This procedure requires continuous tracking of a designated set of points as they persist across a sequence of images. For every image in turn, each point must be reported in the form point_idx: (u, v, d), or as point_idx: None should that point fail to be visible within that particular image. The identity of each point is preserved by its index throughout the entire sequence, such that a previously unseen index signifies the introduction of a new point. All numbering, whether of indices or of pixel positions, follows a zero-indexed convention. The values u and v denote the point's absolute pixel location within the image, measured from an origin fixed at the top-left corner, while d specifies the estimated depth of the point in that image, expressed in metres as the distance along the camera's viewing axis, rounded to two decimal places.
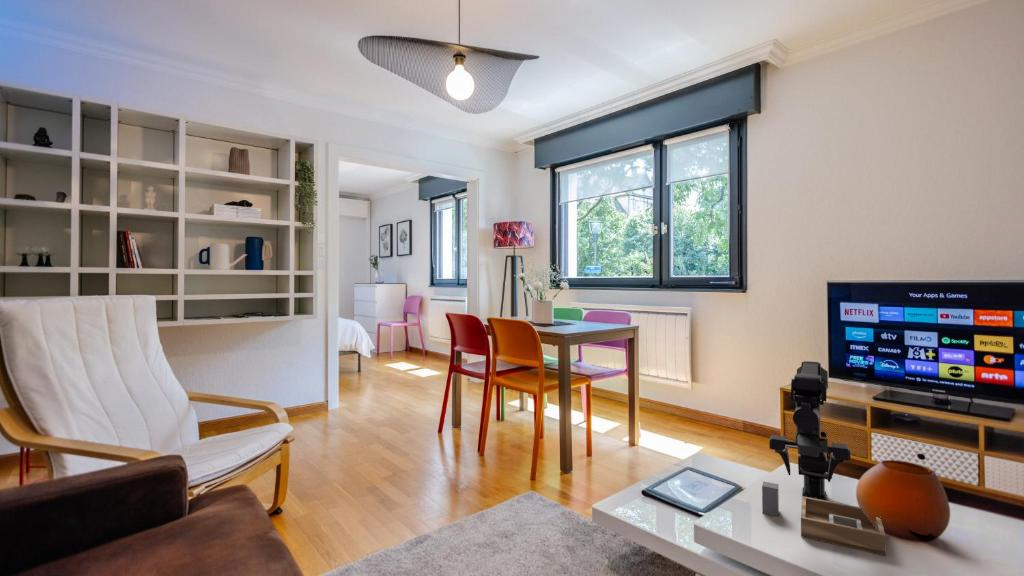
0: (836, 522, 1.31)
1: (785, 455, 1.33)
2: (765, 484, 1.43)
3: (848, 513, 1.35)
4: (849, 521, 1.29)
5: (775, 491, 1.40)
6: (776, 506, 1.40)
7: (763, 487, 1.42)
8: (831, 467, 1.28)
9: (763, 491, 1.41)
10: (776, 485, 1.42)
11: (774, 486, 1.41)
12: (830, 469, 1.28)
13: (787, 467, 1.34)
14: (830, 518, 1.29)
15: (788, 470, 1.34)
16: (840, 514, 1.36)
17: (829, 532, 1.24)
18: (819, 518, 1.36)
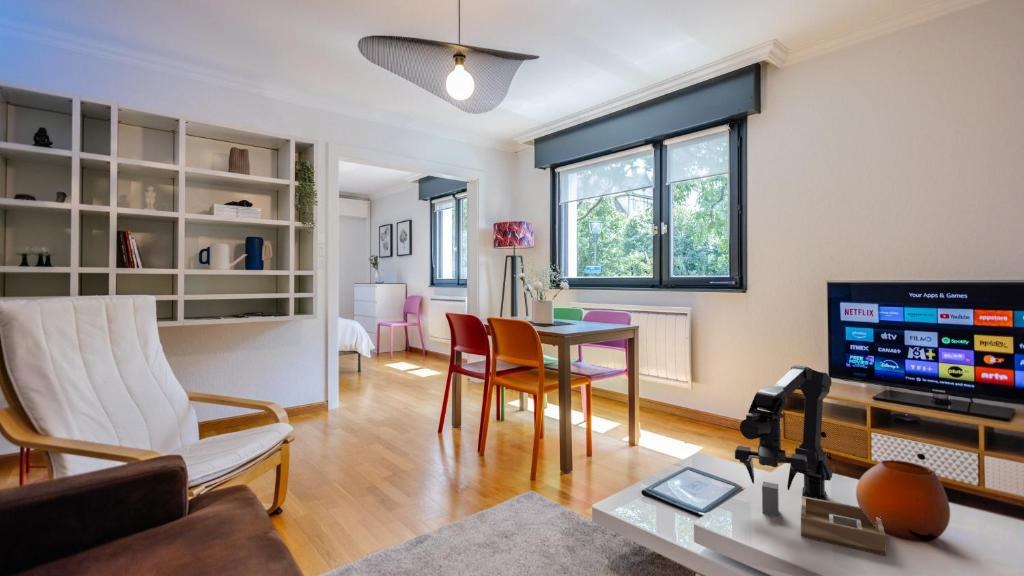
0: (836, 522, 1.31)
1: (749, 465, 1.44)
2: (765, 484, 1.43)
3: (848, 513, 1.35)
4: (849, 521, 1.29)
5: (775, 491, 1.40)
6: (776, 506, 1.40)
7: (763, 487, 1.42)
8: (790, 476, 1.39)
9: (763, 491, 1.42)
10: (776, 485, 1.42)
11: (774, 486, 1.41)
12: (789, 478, 1.39)
13: (751, 476, 1.44)
14: (830, 518, 1.29)
15: (752, 479, 1.44)
16: (840, 514, 1.36)
17: (829, 532, 1.24)
18: (819, 518, 1.36)
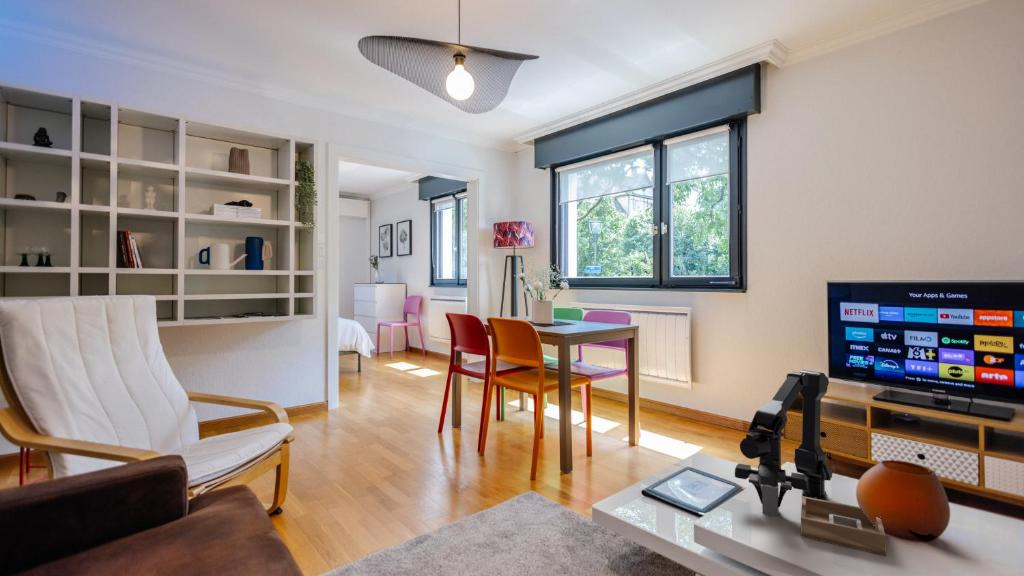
0: (836, 522, 1.31)
1: (758, 485, 1.42)
2: None
3: (848, 513, 1.35)
4: (849, 521, 1.29)
5: (775, 491, 1.40)
6: (776, 506, 1.40)
7: (763, 487, 1.42)
8: (780, 494, 1.40)
9: (763, 491, 1.42)
10: None
11: None
12: (779, 496, 1.40)
13: (760, 496, 1.43)
14: (830, 518, 1.29)
15: (761, 499, 1.43)
16: (840, 514, 1.36)
17: (829, 532, 1.24)
18: (819, 518, 1.36)
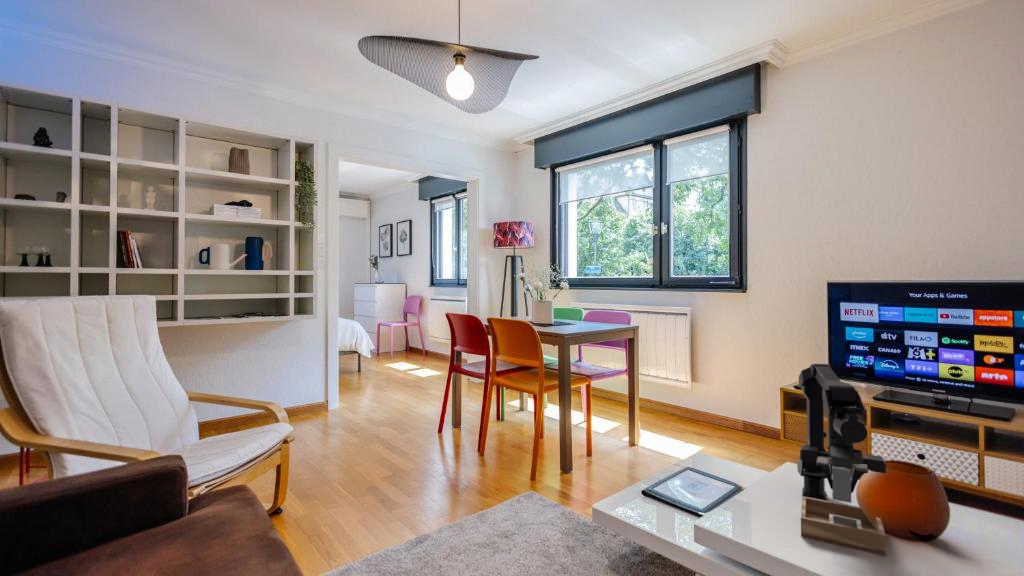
0: (836, 522, 1.31)
1: (827, 468, 1.28)
2: (835, 467, 1.29)
3: (848, 513, 1.35)
4: (849, 521, 1.29)
5: (848, 475, 1.26)
6: (849, 491, 1.25)
7: (834, 470, 1.27)
8: (854, 478, 1.25)
9: (834, 475, 1.27)
10: None
11: (846, 469, 1.27)
12: (853, 480, 1.26)
13: (829, 481, 1.29)
14: (830, 518, 1.29)
15: (830, 484, 1.29)
16: (840, 514, 1.36)
17: (829, 532, 1.24)
18: (819, 518, 1.36)
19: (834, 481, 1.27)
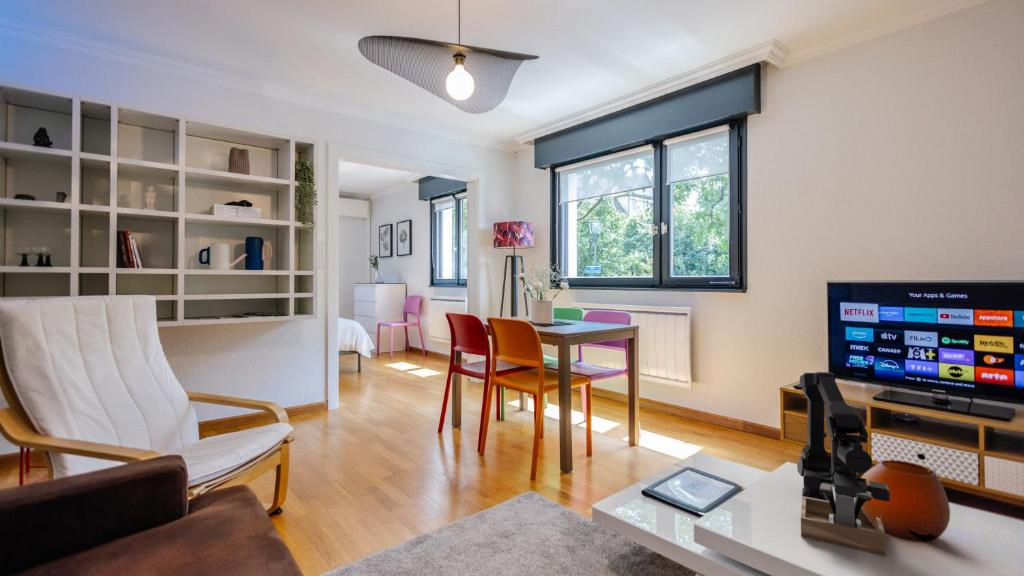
0: None
1: (831, 495, 1.28)
2: None
3: None
4: None
5: (851, 502, 1.25)
6: (853, 519, 1.25)
7: (837, 497, 1.27)
8: (857, 505, 1.25)
9: (837, 502, 1.27)
10: None
11: (849, 496, 1.27)
12: (856, 507, 1.25)
13: (833, 507, 1.28)
14: (830, 518, 1.29)
15: (834, 510, 1.28)
16: None
17: (829, 532, 1.24)
18: (819, 518, 1.36)
19: (838, 508, 1.27)
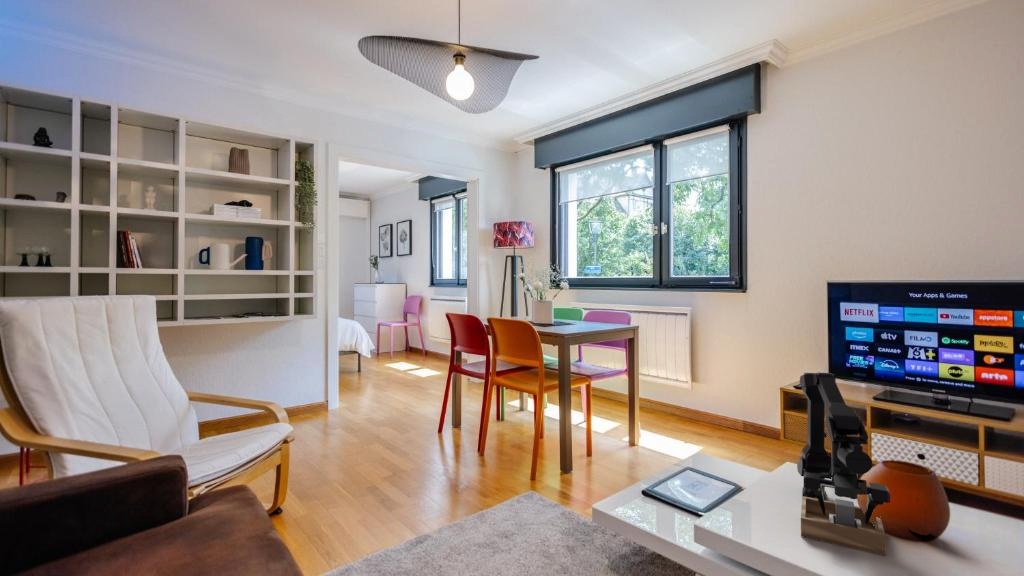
0: None
1: (820, 494, 1.29)
2: (839, 502, 1.28)
3: None
4: None
5: (852, 510, 1.25)
6: None
7: (837, 505, 1.27)
8: (869, 509, 1.24)
9: (837, 510, 1.27)
10: (851, 503, 1.27)
11: (850, 504, 1.27)
12: (868, 511, 1.24)
13: (822, 507, 1.30)
14: (830, 518, 1.29)
15: (823, 510, 1.30)
16: None
17: (829, 532, 1.24)
18: (819, 518, 1.36)
19: (838, 516, 1.27)
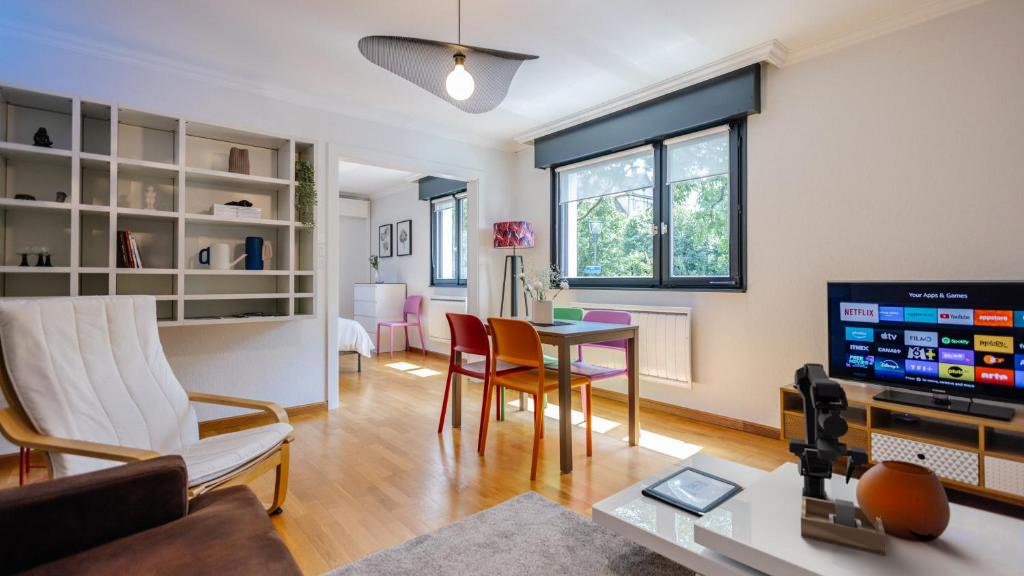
0: None
1: (804, 458, 1.38)
2: (839, 502, 1.28)
3: None
4: None
5: (852, 510, 1.25)
6: None
7: (837, 505, 1.27)
8: (849, 470, 1.33)
9: (837, 510, 1.27)
10: (851, 503, 1.27)
11: (850, 504, 1.27)
12: (848, 472, 1.33)
13: (806, 469, 1.39)
14: (830, 518, 1.29)
15: (807, 472, 1.39)
16: None
17: (829, 532, 1.24)
18: (819, 518, 1.36)
19: (838, 516, 1.27)
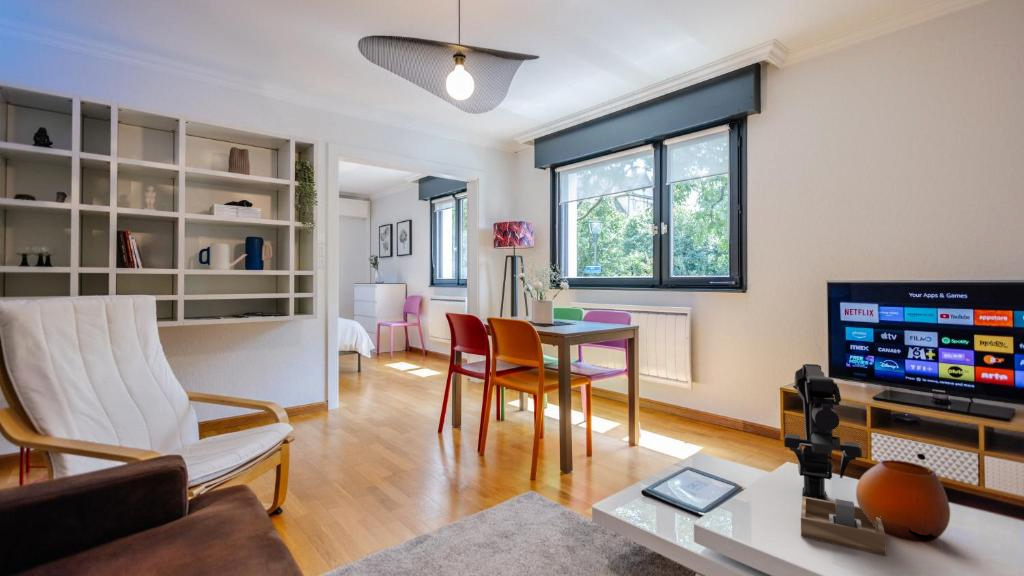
0: None
1: (799, 453, 1.41)
2: (839, 502, 1.28)
3: None
4: None
5: (852, 510, 1.25)
6: None
7: (837, 505, 1.27)
8: (843, 464, 1.36)
9: (837, 510, 1.27)
10: (851, 503, 1.27)
11: (850, 504, 1.27)
12: (842, 466, 1.36)
13: (801, 464, 1.42)
14: (830, 518, 1.29)
15: (802, 467, 1.42)
16: None
17: (829, 532, 1.24)
18: (819, 518, 1.36)
19: (838, 516, 1.27)
